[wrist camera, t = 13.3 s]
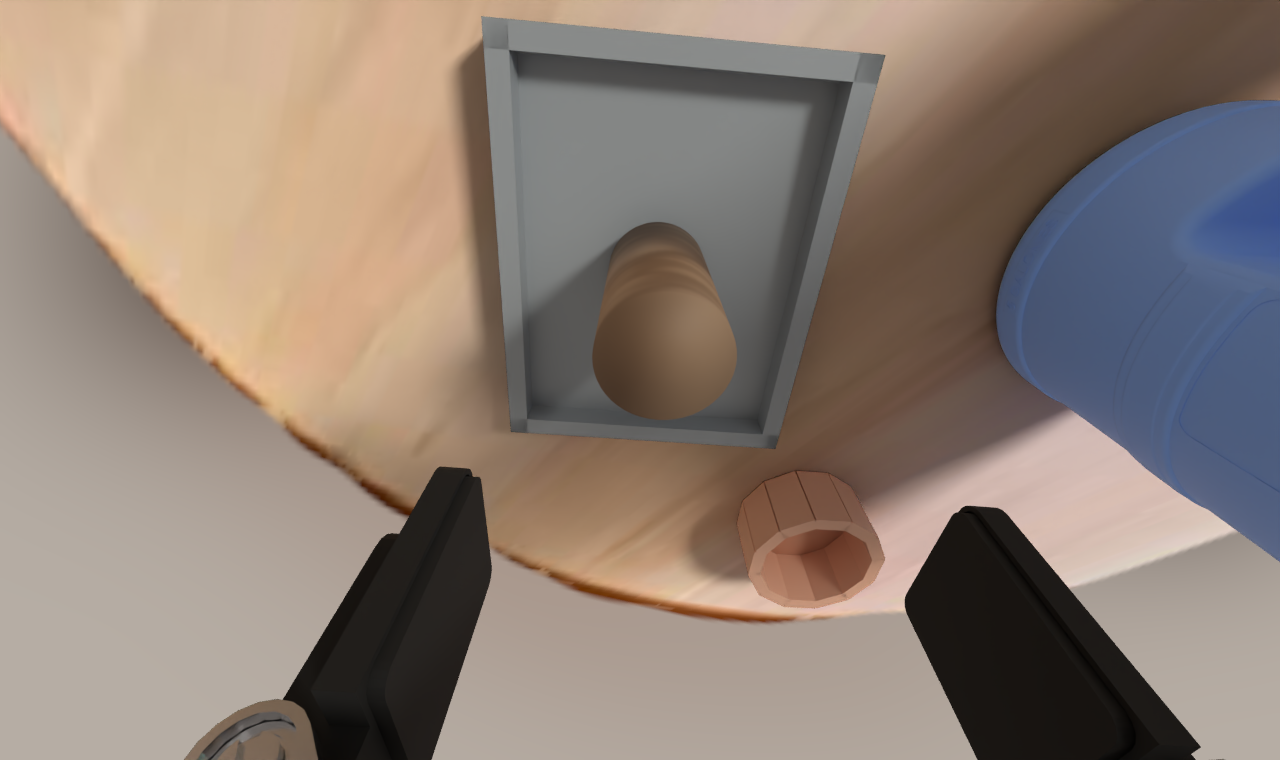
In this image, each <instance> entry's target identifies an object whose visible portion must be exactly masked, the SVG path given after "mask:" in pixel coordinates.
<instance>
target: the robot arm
mask: <svg viewBox="0 0 1280 760" xmlns="http://www.w3.org/2000/svg"><path fill="white" fill-rule="evenodd" d="M491 571H492V565H491V557H490V549H489V541H488V533H487V525H486V517H485V509H484V500H483V492H482V484H481V479H480V477H473V476H472V472H471V470H470V469H465V468H451V467H439V468H437V469H436V471H435V472H434V474H433V476H432V477H431V479H430V481H429V483H428V484H427V486H426V488H425V490H424V491H423V493H422V495H421V497H420V499H419V500H418V502H417V504H416V506H415V507H414V509H413V511H412V513H411V514H410V516H409V518H408V520H407V521H406V523H405V525H404V527H403V528H402V530H401V532H400V534H393V533H391V534H387V535H385V536H384V537H383V538H381V540H380V541H379V543H378V544H377V545H376V547H375V548H374V550H373V552H372V553H371V555H370V557H369V558H368V560H367V562H366V563H365V565H364V566H363V568H362V570H361V571H360V573H359V575H358V576H357V578H356V580H355V581H354V583H353V585H352V586H351V588H350V590H349V591H348V593H347V595H346V596H345V598H344V600H343V602H342V603H341V604H340V606H339V608H338V609H337V611H336V613H335V614H334V616H333V618H332V619H331V621H330V623H329V624H328V626H327V628H326V629H325V631H324V632H323V634H322V636H321V638H320V639H319V641H318V643H317V644H316V646H315V647H314V649H313V651H312V652H311V654H310V656H309V657H308V660H307V661H306V662H305V664H304V666H303V667H302V669H301V670H300V672H299V674H298V675H297V677H296V679H295V680H294V682H293V684H292V685H291V687H290V689H289V690H288V692H287V694H286V696H285V697H284V698H283V700H280V699H274V700H268V701H262V702H258V703H255V704H253V705H250V706H248V707H245V708H243V709H241V710H238V711H237V712H235V713H233V714H232V715H230V716H229V717H227V718H226V719H224V720H223V721H221V722H220V723H218V724H217V725H216V726H215V727H214V728H212V729H211V730H210V731H209V732H208V733H207V734H206V735H205V736H204V737H202V738H201V739H200V740H199V741H198V742H197V743H196V745H195V746H194V747H193V748H192V750H191V751H190V752H189V754H188V755H187V756H186V758H185V759H184V760H431V759H432V756H433V753H434V750H435V747H436V744H437V741H438V738H439V735H440V732H441V729H442V726H443V723H444V720H445V717H446V714H447V711H448V708H449V705H450V702H451V699H452V696H453V693H454V690H455V687H456V684H457V680H458V678H459V674H460V672H461V668H462V665H463V662H464V659H465V656H466V653H467V650H468V647H469V644H470V641H471V638H472V635H473V632H474V629H475V626H476V623H477V620H478V617H479V614H480V611H481V608H482V605H483V602H484V599H485V596H486V593H487V590H488V587H489V583H490V578H491ZM905 609H906V612H907V615H908V617H909V619H910V621H911V623H912V625H913V627H914V630H915V632H916V634H917V636H918V638H919V639H920V642H921V644H922V646H923V648H924V650H925V652H926V654H927V656H928V658H929V660H930V663H931V665H932V666H933V669H934V671H935V673H936V675H937V677H938V679H939V681H940V683H941V685H942V687H943V689H944V691H945V694H946V696H947V698H948V699H949V702H950V704H951V706H952V708H953V710H954V712H955V714H956V716H957V718H958V720H959V722H960V724H961V727H962V729H963V731H964V733H965V735H966V737H967V739H968V741H969V743H970V745H971V747H972V749H973V751H974V753H975V755H976V758H977V759H978V760H1195V758H1194V757H1193V756H1192V755H1191V754H1192V753H1193V752H1195V751H1196V750H1197V749H1199V748H1200V745H1199V744H1198V743H1197V742H1196V741H1195V739H1194V738H1193V737H1192V736H1191V735H1190V733H1189V732H1188V731H1187V730H1186V729H1185V727H1184V726H1183V725H1182V724H1181V723H1180V721H1179V720H1178V719H1177V718H1176V717H1175V715H1174V714H1173V713H1172V712H1171V711H1170V710H1169V708H1168V707H1167V706H1166V705H1165V703H1164V702H1163V701H1162V700H1161V699H1160V697H1159V696H1158V695H1157V694H1156V693H1155V692H1154V690H1153V689H1152V688H1151V687H1150V685H1149V684H1148V683H1147V682H1146V681H1145V679H1144V678H1143V677H1142V676H1141V675H1140V673H1139V672H1138V671H1137V670H1136V669H1135V667H1134V666H1133V665H1132V664H1131V663H1130V661H1129V660H1128V659H1127V658H1126V657H1125V655H1124V654H1123V653H1122V652H1121V651H1120V649H1119V648H1118V647H1117V646H1116V645H1115V643H1114V642H1113V641H1112V640H1111V639H1110V637H1109V636H1108V635H1107V634H1106V633H1105V632H1104V630H1103V629H1102V628H1101V627H1100V625H1099V624H1098V623H1097V622H1096V621H1095V619H1094V618H1093V617H1092V616H1091V615H1090V613H1089V612H1088V611H1087V610H1086V609H1085V607H1084V606H1083V605H1082V604H1081V603H1080V601H1079V600H1078V599H1077V598H1076V597H1075V595H1074V594H1073V593H1072V592H1071V591H1070V589H1069V588H1068V587H1067V586H1066V585H1065V583H1064V582H1063V581H1062V580H1061V579H1060V577H1059V576H1058V575H1057V574H1056V573H1055V571H1054V570H1053V569H1052V568H1051V567H1050V565H1049V564H1048V563H1047V562H1046V561H1045V559H1044V558H1043V557H1042V556H1041V555H1040V553H1039V552H1038V551H1037V550H1036V549H1035V547H1034V546H1033V545H1032V544H1031V543H1030V541H1029V540H1028V539H1027V538H1026V537H1025V535H1024V534H1023V533H1022V532H1021V531H1020V529H1019V528H1018V527H1017V526H1016V525H1015V523H1014V522H1013V521H1012V520H1011V519H1010V517H1009V516H1008V515H1007V514H1006V513H1005V512H1004V511H1003V510H1001V509H999V508H991V507H978V506H965V507H963V508H961V510H960V511H959V512H958V513H955V514H953V516H952V517H951V518H950V520H949V522H948V524H947V525H946V527H945V529H944V530H943V532H942V534H941V536H940V537H939V539H938V541H937V542H936V544H935V546H934V548H933V549H932V551H931V553H930V555H929V556H928V558H927V560H926V561H925V563H924V565H923V567H922V568H921V570H920V572H919V573H918V575H917V577H916V579H915V580H914V582H913V584H912V586H911V587H910V589H909V591H908V592H907V594H906V597H905ZM1218 760H1224V759H1218Z"/></svg>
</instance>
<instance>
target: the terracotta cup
mask: <svg viewBox="0 0 1280 760" xmlns="http://www.w3.org/2000/svg"><path fill="white" fill-rule="evenodd" d="M737 527H738V531H739V536H740V540H741V545H742V549H743V554H744V558H745V563H746V568H747V572H748V576H749V578H750V580H751V581H752V583H753V585H754V587H755V589H756V590H757V592H758V594H759V595H760V596H762V597H764V598H766V599H769V600H771V601H773V602H775V603H777V604H779V605H781V606H784V607H797V608H819V607H823V606H827V605H831V604H834V603H838V602H842V601H845V600H848V599H850V598H852V597H853V596H854V595H856V594H857V593H859V592H860V591H862V590H863V589H865V588H866V587H867V586H869V585H870V584H872V583H873V581H875V579H876V577H877V575H878V573H879V571H880V569H881V567H882V565H883V563H884V561H885V557H884V554H883V550H882V547H881V544H880V541H879V538H878V536H877V534H876V532H875V530H874V529H873V527H872V525H871V523H870V521H869V519H868V517H867V515H866V514H865V512H864V510H863V508H862V506H861V504H860V502H859V501H858V499H857V497H856V495H855V493H854V491H853V489H852V487H851V486H849V485H847V484H846V483H844V482H842V481H841V480H839V479H837V478H836V477H834V476H833V475H831V474H829V473H823V472H807V471H796V472H795V471H793V472H790V473H787V474H784V475H781V476H779V477H776V478H773V479H770V480H767V481H765V483H764V482H763V483H762V484H760V485H759V486H758V487H757V488H756V489H755V490H754V491H753V492H752V493H751V494H750V495H749V496H747V497H746V498H745V499H744V500H743V502H742V505H741V508H740V512H739V516H738V520H737Z"/></svg>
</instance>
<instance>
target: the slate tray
mask: <svg viewBox="0 0 1280 760" xmlns="http://www.w3.org/2000/svg"><path fill="white" fill-rule="evenodd" d="M481 18H482V32H483V46H484V60H485V74H486V88H487V102H488V116H489V130H490V144H491V158H492V172H493V186H494V201H495V215H496V229H497V243H498V257H499V271H500V285H501V299H502V313H503V327H504V341H505V355H506V369H507V383H508V397H509V412H510V426H511V432H522V433H537V434H553V435H568V436H584V437H599V438H614V439H630V440H645V441H661V442H676V443H692V444H707V445H723V446H738V447H754V448H769V449H775V448H776V445H777V441H778V438H779V434H780V431H781V427H782V423H783V420H784V416H785V413H786V409H787V405H788V402H789V398H790V395H791V391H792V388H793V384H794V380H795V377H796V373H797V370H798V366H799V363H800V359H801V355H802V352H803V348H804V345H805V341H806V337H807V334H808V330H809V327H810V323H811V320H812V316H813V312H814V309H815V305H816V302H817V298H818V294H819V291H820V287H821V284H822V280H823V277H824V273H825V269H826V266H827V262H828V259H829V255H830V251H831V248H832V244H833V241H834V237H835V234H836V230H837V226H838V223H839V219H840V216H841V212H842V209H843V205H844V201H845V198H846V194H847V191H848V187H849V183H850V180H851V176H852V173H853V169H854V166H855V162H856V158H857V155H858V151H859V148H860V144H861V140H862V137H863V133H864V130H865V126H866V123H867V119H868V115H869V112H870V108H871V105H872V101H873V97H874V94H875V90H876V87H877V83H878V80H879V76H880V72H881V69H882V65H883V62H884V58H885V55H880V54H870V53H859V52H849V51H838V50H828V49H818V48H807V47H797V46H786V45H776V44H765V43H755V42H744V41H734V40H723V39H713V38H703V37H692V36H682V35H671V34H661V33H650V32H640V31H629V30H619V29H608V28H598V27H587V26H577V25H567V24H556V23H546V22H535V21H525V20H514V19H504V18H493V17H483V16H481ZM651 222H665V223H670V224H673V225H676V226H678V227H680V228H682V229H683V230H685V231H686V232H688V233H689V234H690V235H691V236H692V237H693V238H694V239H695V241H696V242H697V244H698V245H699V247H700V249H701V251H702V254H703V257H704V259H705V262H706V264H707V267H708V270H709V272H710V275H711V278H712V280H713V283H714V285H715V288H716V291H717V293H718V296H719V298H720V301H721V304H722V306H723V309H724V311H725V314H726V317H727V319H728V322H729V324H730V327H731V330H732V332H733V335H734V338H735V342H736V348H737V361H736V367H735V371H734V374H733V377H732V379H731V381H730V383H729V385H728V386H727V388H726V389H725V391H724V392H723V393H722V394H721V396H720V397H719V398H717V399H716V400H715V401H714V402H713V403H712V404H710V405H709V406H708V407H706V408H704V409H703V410H701V411H699V412H697V413H695V414H693V415H690V416H686V417H683V418H678V419H672V420H654V419H647V418H643V417H639V416H636V415H634V414H631V413H629V412H627V411H625V410H623V409H622V408H620V407H619V406H617V405H616V404H615V403H614V402H613V401H611V400H610V399H609V398H608V396H607V395H606V394H605V393H604V391H603V390H602V389H601V387H600V385H599V383H598V381H597V379H596V376H595V373H594V369H593V363H592V353H593V345H594V340H595V335H596V330H597V325H598V320H599V314H600V309H601V304H602V299H603V294H604V289H605V284H606V279H607V273H608V268H609V263H610V259H611V255H612V252H613V250H614V248H615V246H616V244H617V243H618V242H619V240H620V239H621V238H622V237H623V236H624V235H625V234H626V233H627V232H629V231H630V230H632V229H633V228H635V227H637V226H639V225H642V224H646V223H651Z"/></svg>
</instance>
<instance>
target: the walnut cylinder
mask: <svg viewBox="0 0 1280 760" xmlns="http://www.w3.org/2000/svg"><path fill="white" fill-rule="evenodd" d="M736 361H737V348H736V342H735V338H734V335H733V332H732V330H731V327H730V324H729V322H728V319H727V317H726V314H725V311H724V309H723V306H722V304H721V301H720V298H719V296H718V293H717V291H716V288H715V285H714V283H713V280H712V278H711V275H710V272H709V270H708V267H707V264H706V262H705V259H704V257H703V254H702V251H701V249H700V247H699V245H698V244H697V242H696V241H695V239H694V238H693V237H692V236H691V235H690V234H689V233H688V232H686V231H685V230H683V229H682V228H680V227H678V226H676V225H673V224H670V223H665V222H651V223H646V224H642V225H639V226H637V227H635V228H633V229H632V230H630V231H629V232H627V233H626V234H625V235H624V236H623V237H622V238H621V239H620V240H619V242H618V243H617V244H616V246H615V248H614V250H613V252H612V255H611V259H610V263H609V268H608V273H607V279H606V284H605V289H604V294H603V299H602V304H601V309H600V314H599V320H598V325H597V330H596V335H595V340H594V345H593V353H592V363H593V369H594V373H595V376H596V379H597V381H598V383H599V385H600V387H601V389H602V390H603V391H604V393H605V394H606V395H607V396H608V398H609V399H610V400H611V401H613V402H614V403H615V404H616V405H617V406H619V407H620V408H622V409H623V410H625V411H627V412H629V413H631V414H634V415H636V416H639V417H643V418H647V419H654V420H672V419H678V418H683V417H686V416H690V415H693V414H695V413H697V412H699V411H701V410H703V409H704V408H706V407H708V406H709V405H710V404H712V403H713V402H714V401H715V400H716V399H717V398H719V397H720V396H721V394H722V393H723V392H724V391H725V389H726V388H727V386H728V385H729V383H730V381H731V379H732V377H733V374H734V371H735V367H736Z"/></svg>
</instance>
